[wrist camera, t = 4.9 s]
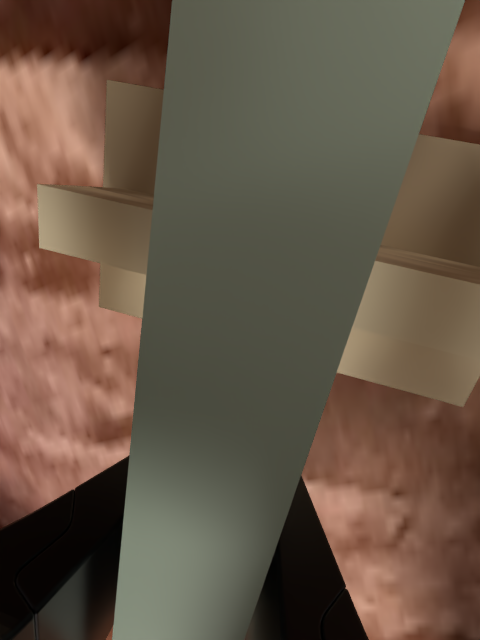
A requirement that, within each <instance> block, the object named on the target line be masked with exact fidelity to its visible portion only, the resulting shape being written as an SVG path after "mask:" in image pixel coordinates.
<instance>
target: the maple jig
mask: <svg viewBox="0 0 480 640" xmlns="http://www.w3.org/2000/svg"><path fill="white" fill-rule="evenodd" d="M163 94H164V90H163V89H157V88H152V87H146V86H140V85H135V84H129V83H123V82H117V81H112V80H107V88H106V117H105V146H104V175H103V187H87V186H67V185H48V184H37V192H38V221H39V248H43V249H47V250H51V251H54V252H58V253H62V254H66V255H70V256H74V257H78V258H82V259H86V260H90V261H93V262H97V263H100V291H99V307H102V308H105V309H109V310H113V311H116V312H120V313H124V314H127V315H131V316H134V317H138V318H142V317H143V306H144V296H145V285H146V274H147V264H148V253H149V243H150V232H151V221H152V211H153V200H154V189H155V179H156V168H157V157H158V147H159V136H160V125H161V115H162V104H163ZM337 372H338V373H341V374H345V375H348V376H352V377H356V378H359V379H363V380H367V381H370V382H374V383H378V384H381V385H385V386H388V387H392V388H396V389H399V390H403V391H407V392H410V393H414V394H417V395H421V396H425V397H428V398H432V399H436V400H439V401H443V402H446V403H450V404H454V405H457V406H461V407H463V406H464V405H465V403H466V401H467V399H468V397H469V395H470V393H471V391H472V390H473V388H474V386H475V384H476V382H477V380H478V378H479V377H480V145H479V144H473V143H467V142H461V141H456V140H450V139H444V138H439V137H433V136H427V135H421V134H419V135H418V138H417V141H416V144H415V147H414V149H413V152H412V155H411V158H410V161H409V164H408V167H407V170H406V173H405V176H404V178H403V181H402V184H401V187H400V190H399V193H398V196H397V199H396V202H395V204H394V207H393V210H392V213H391V216H390V219H389V222H388V225H387V228H386V231H385V233H384V236H383V239H382V242H381V245H380V248H379V251H378V254H377V257H376V260H375V262H374V265H373V268H372V271H371V274H370V277H369V280H368V283H367V286H366V288H365V291H364V294H363V297H362V300H361V303H360V306H359V309H358V312H357V315H356V317H355V320H354V323H353V326H352V329H351V332H350V335H349V338H348V341H347V344H346V346H345V349H344V352H343V355H342V358H341V361H340V364H339V367H338V370H337Z"/></svg>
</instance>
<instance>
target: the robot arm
mask: <svg viewBox="0 0 480 640" xmlns="http://www.w3.org/2000/svg"><path fill="white" fill-rule="evenodd" d="M128 466H129V456H128V457H126V458H124V459H123V460H121V461H119V462H118V463H116V464H114V465H113V466H111V467H109V468H108V469H106V470H104V471H103V472H101V473H99V474H98V475H96V476H94V477H93V478H91V479H89V480H88V481H86V482H84V483H83V484H81V485H79V486H78V487H76V488H75V490H71V491H69V492H67V493H66V494H64V495H62V496H61V497H59V498H57V499H55V500H54V501H52V502H50V503H48V504H47V505H45V506H43V507H41V508H40V509H38V510H36V511H34V512H33V513H31V514H29V515H27V516H25V517H23V518H21V519H19V520H17V521H15V522H13V523H11V524H9V525H7V526H5V527H3V528H1V529H0V640H106V638H107V636H108V634H109V632H110V630H111V629H112V627H113V625H114V615H115V605H116V594H117V583H118V573H119V562H120V551H121V541H122V530H123V519H124V509H125V498H126V487H127V477H128ZM345 588H346V585H345V582H344V580H343V577H342V575H341V572H340V570H339V567H338V565H337V562H336V560H335V557H334V555H333V553H332V550H331V548H330V545H329V543H328V540H327V538H326V535H325V533H324V530H323V528H322V525H321V523H320V520H319V518H318V516H317V513H316V511H315V508H314V506H313V503H312V501H311V498H310V496H309V493H308V491H307V488H306V486H305V483H304V481H303V479H302V476H301V477H300V480H299V483H298V486H297V488H296V491H295V494H294V497H293V500H292V503H291V506H290V509H289V512H288V514H287V517H286V520H285V523H284V526H283V529H282V532H281V535H280V538H279V541H278V543H277V546H276V549H275V552H274V555H273V558H272V561H271V564H270V567H269V570H268V572H267V575H266V578H265V581H264V584H263V587H262V590H261V593H260V596H259V598H258V601H257V604H256V607H255V610H254V613H253V616H252V619H251V622H250V625H249V627H248V630H247V633H246V636H245V640H369V639H368V637H367V635H366V632H365V630H364V628H363V625H362V623H361V621H360V618H359V616H358V614H357V611H356V609H355V607H354V604H353V602H352V599H351V597H350V594H349V592H348V590H347V589H345Z"/></svg>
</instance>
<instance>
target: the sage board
mask: <svg viewBox="0 0 480 640" xmlns="http://www.w3.org/2000/svg"><path fill="white" fill-rule="evenodd" d="M464 2H465V0H172V8H171V19H170V30H169V40H168V51H167V62H166V72H165V83H164V94H163V104H162V115H161V125H160V136H159V147H158V157H157V168H156V179H155V189H154V200H153V211H152V221H151V232H150V243H149V253H148V264H147V274H146V285H145V296H144V306H143V317H142V328H141V338H140V349H139V360H138V370H137V381H136V392H135V402H134V413H133V424H132V434H131V445H130V455H129V466H128V477H127V487H126V498H125V509H124V519H123V530H122V541H121V551H120V562H119V573H118V583H117V594H116V605H115V615H114V626H113V636H112V640H244V639H245V636H246V633H247V630H248V627H249V625H250V622H251V619H252V616H253V613H254V610H255V607H256V604H257V601H258V598H259V596H260V593H261V590H262V587H263V584H264V581H265V578H266V575H267V572H268V570H269V567H270V564H271V561H272V558H273V555H274V552H275V549H276V546H277V543H278V541H279V538H280V535H281V532H282V529H283V526H284V523H285V520H286V517H287V514H288V512H289V509H290V506H291V503H292V500H293V497H294V494H295V491H296V488H297V486H298V483H299V480H300V477H301V474H302V471H303V468H304V465H305V462H306V459H307V457H308V454H309V451H310V448H311V445H312V442H313V439H314V436H315V433H316V430H317V428H318V425H319V422H320V419H321V416H322V413H323V410H324V407H325V404H326V401H327V399H328V396H329V393H330V390H331V387H332V384H333V381H334V378H335V375H336V373H337V370H338V367H339V364H340V361H341V358H342V355H343V352H344V349H345V346H346V344H347V341H348V338H349V335H350V332H351V329H352V326H353V323H354V320H355V317H356V315H357V312H358V309H359V306H360V303H361V300H362V297H363V294H364V291H365V288H366V286H367V283H368V280H369V277H370V274H371V271H372V268H373V265H374V262H375V260H376V257H377V254H378V251H379V248H380V245H381V242H382V239H383V236H384V233H385V231H386V228H387V225H388V222H389V219H390V216H391V213H392V210H393V207H394V204H395V202H396V199H397V196H398V193H399V190H400V187H401V184H402V181H403V178H404V176H405V173H406V170H407V167H408V164H409V161H410V158H411V155H412V152H413V149H414V147H415V144H416V141H417V138H418V135H419V132H420V129H421V126H422V123H423V120H424V118H425V115H426V112H427V109H428V106H429V103H430V100H431V97H432V94H433V91H434V89H435V86H436V83H437V80H438V77H439V74H440V71H441V68H442V65H443V63H444V60H445V57H446V54H447V51H448V48H449V45H450V42H451V39H452V36H453V34H454V31H455V28H456V25H457V22H458V19H459V16H460V13H461V10H462V7H463V5H464Z"/></svg>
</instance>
